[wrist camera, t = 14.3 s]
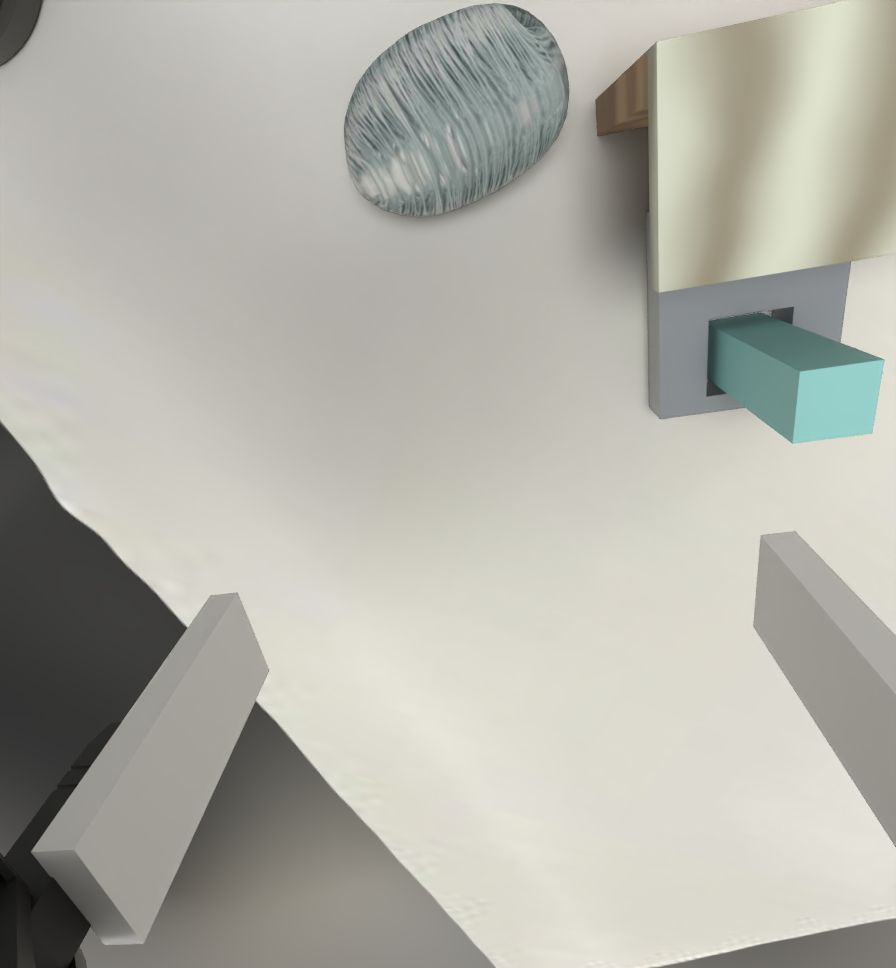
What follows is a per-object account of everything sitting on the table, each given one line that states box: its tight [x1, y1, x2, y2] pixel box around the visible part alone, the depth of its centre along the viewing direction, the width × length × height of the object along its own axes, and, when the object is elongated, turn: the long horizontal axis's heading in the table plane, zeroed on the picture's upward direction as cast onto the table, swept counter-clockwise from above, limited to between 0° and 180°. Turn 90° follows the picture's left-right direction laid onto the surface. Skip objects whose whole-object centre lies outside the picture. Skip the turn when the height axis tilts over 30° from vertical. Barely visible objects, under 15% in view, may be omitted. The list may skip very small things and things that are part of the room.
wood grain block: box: [596, 0, 896, 293], centre depth 30 cm, size 18×10×14 cm, turn 100°
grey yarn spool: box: [344, 3, 569, 217], centre depth 33 cm, size 14×10×10 cm
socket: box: [646, 211, 851, 419], centre depth 39 cm, size 12×14×3 cm
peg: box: [707, 313, 884, 444], centre depth 36 cm, size 4×4×14 cm
